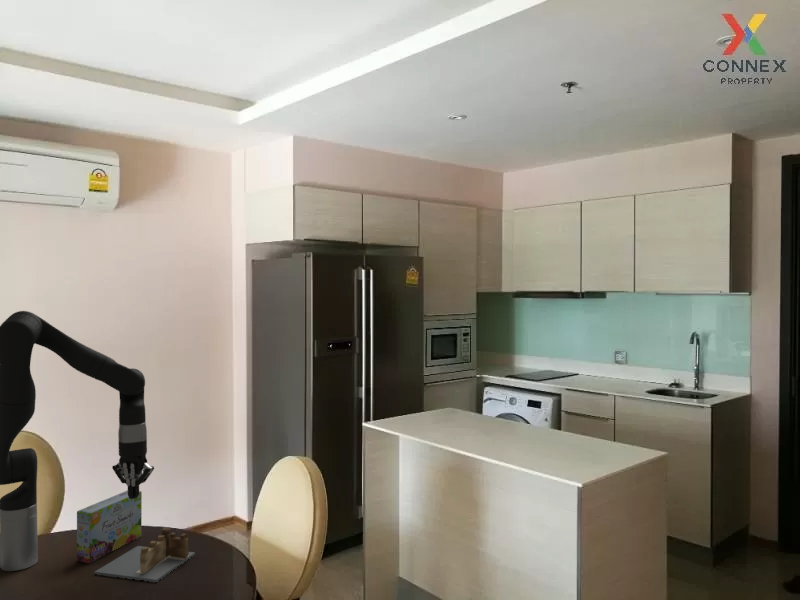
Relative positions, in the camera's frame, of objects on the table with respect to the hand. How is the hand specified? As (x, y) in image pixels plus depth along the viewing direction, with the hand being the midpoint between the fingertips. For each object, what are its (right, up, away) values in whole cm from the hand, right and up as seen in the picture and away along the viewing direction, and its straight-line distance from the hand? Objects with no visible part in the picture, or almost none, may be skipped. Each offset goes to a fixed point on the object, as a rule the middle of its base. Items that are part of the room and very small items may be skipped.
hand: (133, 497), depth 180 cm
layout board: (+4, -19, -1) cm, 19 cm away
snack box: (-12, -19, +11) cm, 25 cm away
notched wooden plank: (+11, -19, +2) cm, 22 cm away
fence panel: (+7, -18, -3) cm, 19 cm away
